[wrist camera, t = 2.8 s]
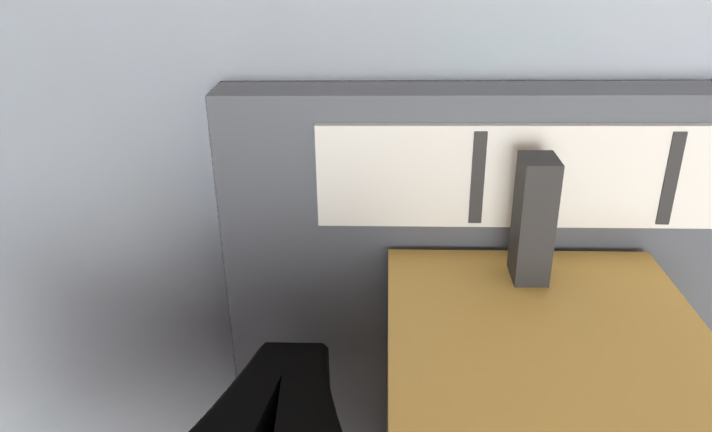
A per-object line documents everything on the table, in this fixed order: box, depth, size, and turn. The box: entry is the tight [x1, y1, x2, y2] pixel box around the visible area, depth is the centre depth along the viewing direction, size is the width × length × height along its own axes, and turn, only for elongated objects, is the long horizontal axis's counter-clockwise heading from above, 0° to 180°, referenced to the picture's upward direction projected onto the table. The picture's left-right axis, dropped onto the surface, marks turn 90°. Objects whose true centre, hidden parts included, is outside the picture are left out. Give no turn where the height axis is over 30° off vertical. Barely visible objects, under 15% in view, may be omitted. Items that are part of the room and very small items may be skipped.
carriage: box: [387, 150, 712, 432], centre depth 11 cm, size 7×5×5 cm
